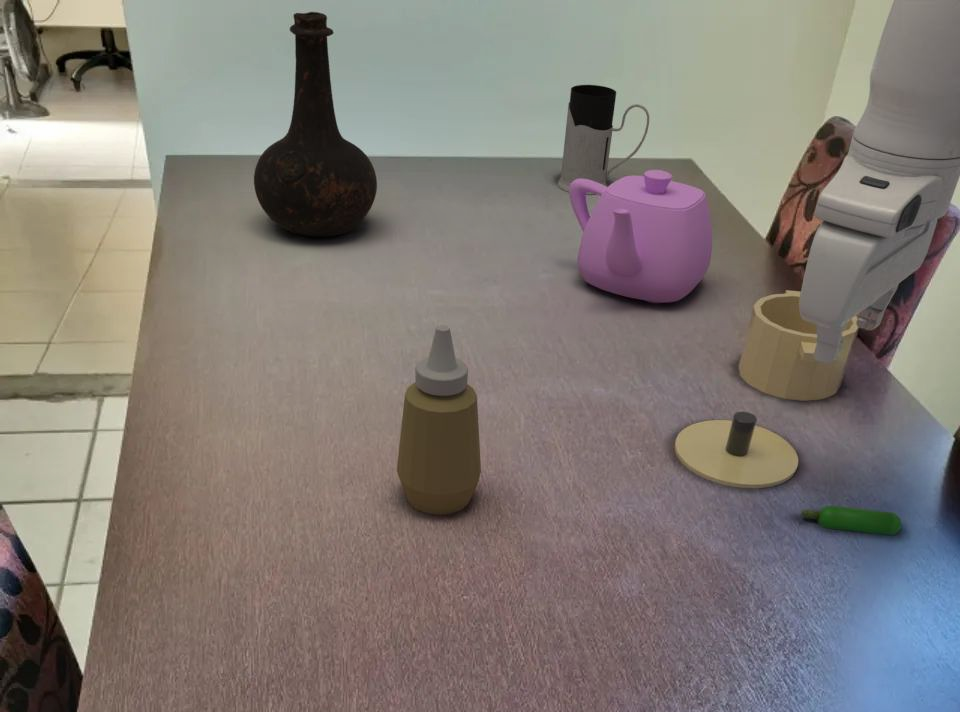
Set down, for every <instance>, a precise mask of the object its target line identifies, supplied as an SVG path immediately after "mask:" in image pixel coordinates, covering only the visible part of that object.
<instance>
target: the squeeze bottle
mask: <svg viewBox="0 0 960 712" xmlns="http://www.w3.org/2000/svg"><path fill="white" fill-rule="evenodd" d="M414 368H415V369H414V371H415V373H414V376H415V380H414V381H415V382H413V383H412V384H410V385H409V386H408V387H407V388H406V391H405V393H404V398H403V399H404V400H403V409H402V416H401V417H402V418H401V427H400V437H399V445H398V456H397V462H396V463H397V464H396V473H397V476H398V479H399V482H400V483H401V486H402V489H403V491H404V495H405V497H406V499H407V503H408V504H409V505H410V506H411V507H412V508H414V509H415V510H417V511H419V512H422V513H424V514H426V515H427V514H428V515H434V516H435V515H436V516H443V515H453V514H454V513H457V512H460V511H462V510H463V509H464V508H466V507H467V506H468V505H469V503H470V501H471V498H472V496H473V494H474V492H475V490H476V487H477V485H478V483H479V481H480V477H481V474H482V464H481V463H482V461H481V447H480V427H479V426H480V425H479V408H478V407H479V406H478V395H477V393H476V391H475V389H474V387H472V386H471V385H470V384H469V383H468V381H469V380H468V378H469V377H468V376H469V368H468V366H467V364H466V363H465V362H464V361H462V360H460V359H459V358H456V354H455V348H454V344H453V338H452V333H451V328H450V326H448V325H446V324H439V325H437V326H435V331H434V336H433V339H432V343H431V347H430V351H429V355H428V357H425V358H422V359H420V360H419V361H418V362H417V363H416V366H415V367H414Z"/></svg>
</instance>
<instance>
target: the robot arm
mask: <svg viewBox="0 0 960 712" xmlns="http://www.w3.org/2000/svg"><path fill="white" fill-rule="evenodd" d="M851 137H852V138H851V141H850V145H849V147H848V152H847V154H846V155H845V157H844V158H843V160H842V164H841V165H840V167H839V169H838V171H837V172H836V173H835V174H834V176H833V178H831V180H830V181H829V182H828V183H827V184H826V185H825V187H824V188H823V189H822V190H821V191H820V194H819V196H818V198H817V201H816V206H815V209H814V217H815V218H816V219H817V220H820V221H822V222H821V223H820V224H819V225H818V227H817V229H816V231H815V234H814V236H813V239H812V242H811V244H810V245H811V246H810V249H809V252H808V253H809V254H808V257H807V262H806V265H805V270H804V275H803V279H802V285H801V289H800V292H801V293H800V299H799V311H800V316H801V318H802V319H803V320H805V321H808V322H810V323H813V324H816V328H817V340H818V341H817V344H816V348H815V351H814V355H813V356H814V359H815V360H816V361H819V362H822V363H825V364H831V363H832V362H833V361H834V360H835V359H837V358H838V357H839V354H840V350H841V348H842V345H843V342H844V341H841V338H842V332H843V328H845V327H846V325H847V322H848V321H849V320H851V319H852V318H853V317H855V316H857V315H858V316H857V318H858V319H857V322H856V324H857V326H858V327H859V329H863V330H866V331H869V332H871V331H873V330H875V329H876V328H877V327H879V326H880V325H881V322H882V320H883V318H884V314H885V311H886V309H887V307H888V305H889V304H890V302H891V300H892V299H893V296H894V295H895V293H896V292H897V290H898V287H899V285H900V283H901V282H902V281H904V280H906V279H907V278H908V277H909V276H910V275H912V274H914V273H915V272H916V271H918V270H919V269H920V267H921V266H922V265H923V263H924V261H925V259H926V257H927V255H928V251H929V249H930V246H931V243H932V240H933V236H934V233H935V230H936V227H937V223H938V220H939V219H940V218H943V217H944V216H945V215H946V214H947V213H948V210H949V207H950V205H951V202H952V199H953V196H954V194H955V191H956V188H957V185H958V182H959V179H960V0H893V2H892V4H891V7H890V10H889V12H888V16H887V18H886V21H885V24H884V27H883V30H882V32H881V36H880V40H879V42H878V46H877V49H876V52H875V56H874V59H873V63H872V67H871V70H870V74H869V93H868V100H867V103H866V106H865V109H864V112H863V113H862V115H861V117H860V119H859V120H858V122H857V124H856V126H855V129H854V131H853V134H852V136H851Z"/></svg>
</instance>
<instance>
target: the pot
mask: <svg viewBox="0 0 960 712" xmlns="http://www.w3.org/2000/svg"><path fill="white" fill-rule="evenodd" d="M800 293H801V291H798V290H789V289H788V290H787V289H786V290H785V291H784V293H775V294H770V295H766V296H763V297H761V298H759V299H758V300H757V301H756V302H755V303H754V305H753V306H752V311H751V314H750V319H749V323H748V326H747V331H746V335H745V338H744V343H743V347H742V350H741V355H740V359H739V363H738V372H739V376H740V377H741V379H742V380H743V381H745V382H746V383H747V385H748V386H751V387H752V388H754V389H755V390H758V391H760V392H761V393H763V394H767V395H769V396H773V397H776V398H781V399H784V400H793V401H802V402H803V401H804V402H809V401H818V400H824V399H826V398H829V397H832V396H833V395H836V394H837V392H838V390H839V389H840V387H841V385H842V381H843V379H844V375H845V371H846V369H847V367H848V363H849V360H850V357H851V354H852V351H853V349H854V345H855V342H856V339H857V335H858V333H859V330H860V328H859V327H858V326H857V324H856V322H857V319H858V316H857V315H856V316H855V317H853V318H852V319H851V320H849V321H848V322H847V325H846V327H845V328H843V332H842V338H841V341H844V342H843V345H842V348H841V350H840V354H839V357H838V358H837V359H835V360H834V361H833V362H832V363H831V364H825V363H822V362H819V361H816V360H815V359H814V356H813V355H814V351H815V348H816V344H817V341H818V340H817V328H816V324H813V323H810V322H808V321H805V320H803V319H802V318H801V316H800V311H799V299H800Z"/></svg>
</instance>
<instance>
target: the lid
mask: <svg viewBox="0 0 960 712" xmlns="http://www.w3.org/2000/svg"><path fill="white" fill-rule="evenodd" d="M757 421H758V417H757V416H756V415H755V414H753V413H751V412H748V411H737V412H735V413H734V414H733V417H732V419H731V420H729V419H728V420H727V419H713V420H704V421H699V422H696V423H693V424H690V425H688V426H685V428H683V429H682V430H681V431H679V433H678V434H677V436H676V439H675V442H674V453H675V455H676V457H677V458H678V460H679V462H680V463H681V464H682V465H683V466H684V467H686V469H688V470H689V471H691V472H692V473H694V474H696V475H698V476H699V477H701V478H704V479H705V480H708V481H710V482H713V483H716V484H720V485H723V486H727V487H733V488H739V489H765V488H771V487H776V486H778V485H781V484H783V483H785V482H788V481H789V480H790V479H791V478H793V476H794V475H795V474H796V472H797V470H798V466H799V456H798V454H797V452H796V450H795V449H794V447H793V446H792V445H791V444H790V442H788V441H787V440H786V439H784V438H783V437H782V436H780V435H778V434H777V433H775V432H773V431H771V430H769V429H768V428H767V429H766V428H765V427H762V426H759V425H757Z"/></svg>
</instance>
